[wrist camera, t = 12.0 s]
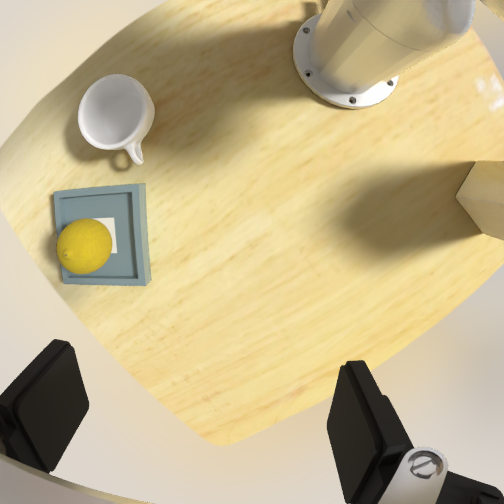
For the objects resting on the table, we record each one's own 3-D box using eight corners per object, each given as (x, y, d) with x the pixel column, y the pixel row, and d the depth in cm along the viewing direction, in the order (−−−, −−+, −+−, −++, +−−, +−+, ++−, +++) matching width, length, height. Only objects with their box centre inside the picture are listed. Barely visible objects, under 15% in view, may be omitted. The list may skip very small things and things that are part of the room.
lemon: (99, 203, 32) (63, 212, 25) (132, 239, 33) (102, 257, 26) (72, 237, 33) (34, 253, 25) (102, 271, 34) (70, 295, 26)
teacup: (90, 108, 31) (68, 100, 26) (146, 74, 30) (130, 59, 25) (121, 181, 33) (101, 183, 28) (180, 148, 33) (168, 144, 27)
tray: (63, 190, 33) (53, 191, 31) (145, 183, 33) (138, 183, 31) (71, 278, 36) (63, 283, 34) (151, 279, 36) (146, 285, 34)
